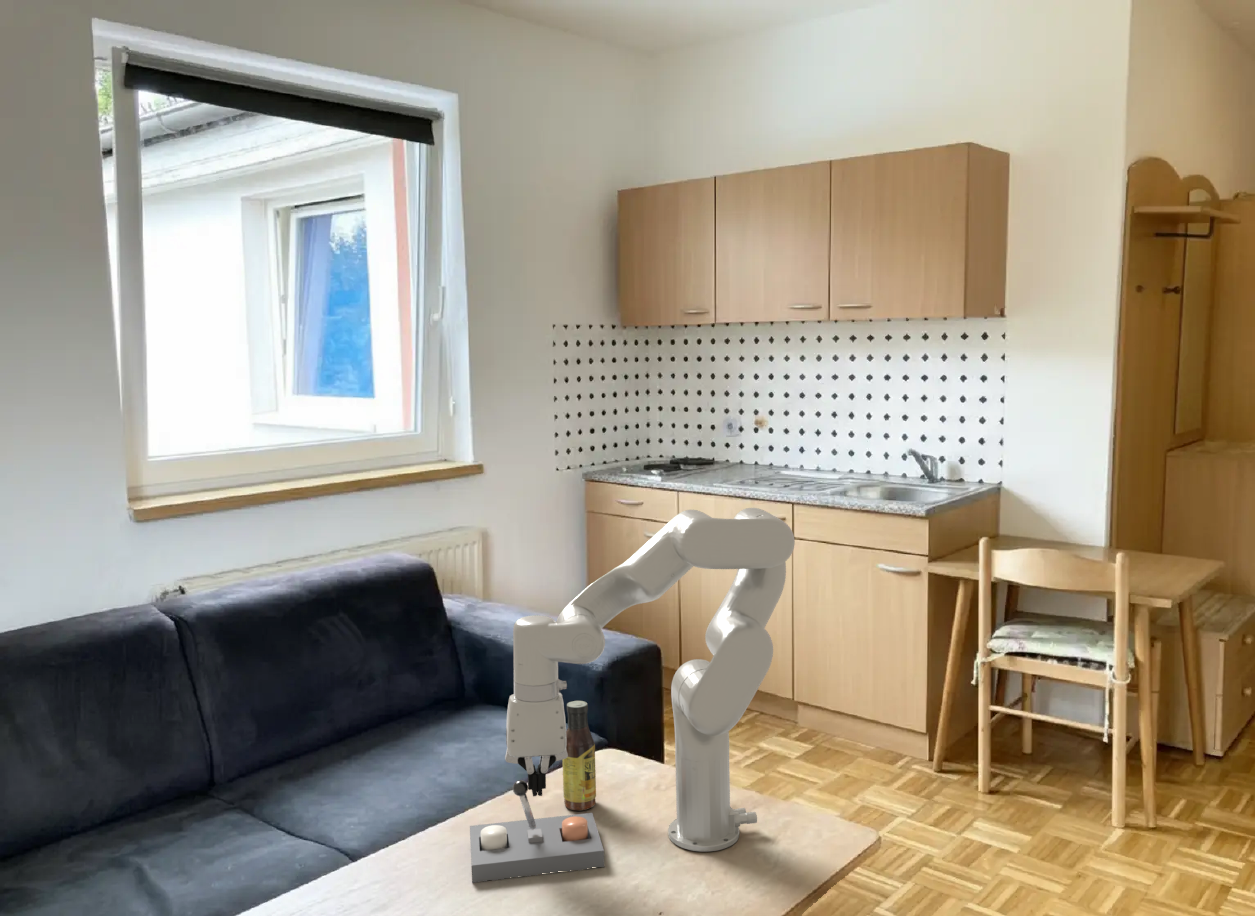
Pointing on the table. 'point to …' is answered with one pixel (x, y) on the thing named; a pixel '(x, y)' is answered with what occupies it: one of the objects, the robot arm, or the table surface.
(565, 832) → the terracotta button
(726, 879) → the table surface
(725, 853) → the table surface
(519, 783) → the toggle lever
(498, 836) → the offwhite button
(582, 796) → the sauce bottle
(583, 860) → the control panel
